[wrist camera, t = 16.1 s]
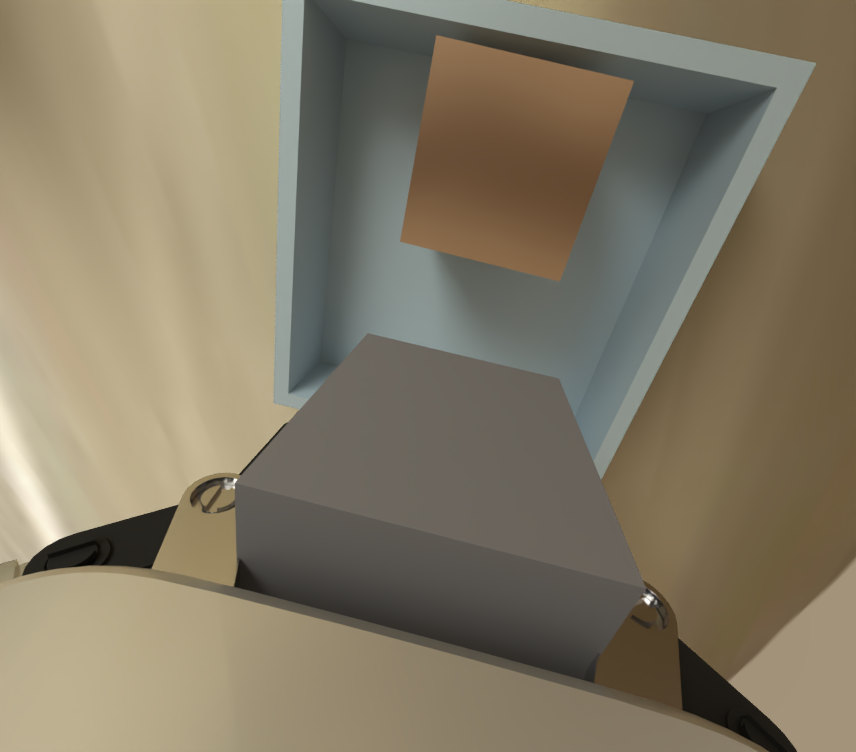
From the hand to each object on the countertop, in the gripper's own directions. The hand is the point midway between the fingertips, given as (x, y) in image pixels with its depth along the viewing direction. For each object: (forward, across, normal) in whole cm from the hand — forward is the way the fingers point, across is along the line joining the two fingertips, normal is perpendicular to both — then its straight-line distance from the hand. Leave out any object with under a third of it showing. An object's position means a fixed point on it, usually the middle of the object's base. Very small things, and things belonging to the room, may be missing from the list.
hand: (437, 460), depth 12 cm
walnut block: (+12, 0, -8) cm, 15 cm away
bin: (+13, 0, -4) cm, 14 cm away
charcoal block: (+1, 0, 0) cm, 1 cm away
